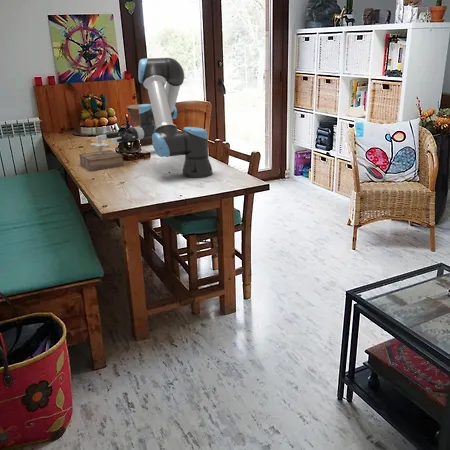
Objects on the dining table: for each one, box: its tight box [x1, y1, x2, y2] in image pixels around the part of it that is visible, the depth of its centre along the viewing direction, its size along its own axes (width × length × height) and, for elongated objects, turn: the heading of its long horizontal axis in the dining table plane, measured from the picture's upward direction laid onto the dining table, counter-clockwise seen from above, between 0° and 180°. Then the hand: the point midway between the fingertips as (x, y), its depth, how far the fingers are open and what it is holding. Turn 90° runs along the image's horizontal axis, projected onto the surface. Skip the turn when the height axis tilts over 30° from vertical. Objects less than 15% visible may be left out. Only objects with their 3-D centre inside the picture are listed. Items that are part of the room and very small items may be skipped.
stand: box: [79, 149, 124, 172], centre depth 255 cm, size 18×18×6 cm
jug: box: [125, 103, 156, 147], centre depth 306 cm, size 22×21×25 cm
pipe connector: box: [90, 135, 110, 155], centre depth 253 cm, size 10×10×10 cm
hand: (103, 140), depth 254 cm, fingers open, 13 cm apart
